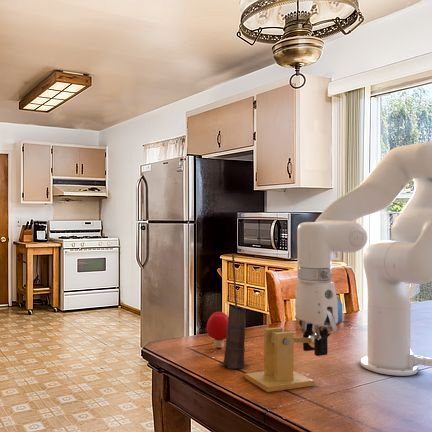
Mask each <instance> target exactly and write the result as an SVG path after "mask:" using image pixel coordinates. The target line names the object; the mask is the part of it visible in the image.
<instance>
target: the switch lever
mask: <svg viewBox="0 0 432 432" xmlns="http://www.w3.org/2000/svg"><path fill="white" fill-rule="evenodd" d="M275 333H279V332H271V340H270V342H271V343H274V344H275ZM314 338H317V337H316V334H311V335H309V337H308V338H305V337H303V336H294V343H302V344H303V343H308V344H309V345H310V346H311V347H313V348H314Z"/></svg>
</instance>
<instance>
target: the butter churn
mask: <svg viewBox="0 0 432 432" xmlns="http://www.w3.org/2000/svg"><path fill="white" fill-rule="evenodd" d="M231 260H232V276H233V277H232V278H233V291H234V292H233V293H234V306H229V308H228V315H227V316H228V327H227V336H226V339H225V345H224V346H225V347H224V355H223V366H224V367H227V369H235V370H237V369H240V370H241V369H242V368H244V367H245V351H246V348H245V346H246V345H245V343H246V342H245V341H246V310H247V309H246V307H242V306H238V300H237V298H238V297H237V295H238V294H237V283H236V265H235V254H231Z"/></svg>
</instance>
